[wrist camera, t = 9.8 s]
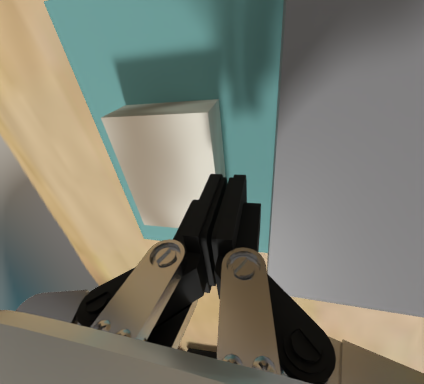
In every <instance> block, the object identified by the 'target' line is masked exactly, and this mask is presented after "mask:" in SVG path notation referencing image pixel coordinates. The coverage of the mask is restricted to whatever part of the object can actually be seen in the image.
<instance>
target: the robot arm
mask: <svg viewBox="0 0 424 384" xmlns="http://www.w3.org/2000/svg"><path fill="white" fill-rule="evenodd" d="M260 223H261V203H247V179H246V175H236V174H235V175H234V176H233V177H230V178H229V181H228V184H227V178H226V177H223V175H222V174H210V176H209V178H208V180H207V182H206V185H205V187H204V189H203V191H202V194H201V196H200V198H199V200H195V199H194V200H192V202H191V203H190V205H189V208H188V210H187V212H186V214H185V216H184V218H183V220H182V222H181V224H180V226H179V228H178V230H177V232H176V234H175V236H174V238H173V240H171V239H168V240H163V241H160V242H158V243H156V244H155V245H153V246H152V247H151V248H150V249H149V250H148V252H147V253H146V254H145V256H144V257H143V258H142V260H141V261H140V262H139V264H138V265H137V266H136V267H135V268H133V269H131V270H129V271H127V272H125V273H124V274H122V275H120V276H118V277H116V278H114V279H112V280H110V281H108V282H106V283H104V284H102V285H101V286H99V287H97V288H95V289H94V290H92V291H91V292H89V291H88V290H75V291H61V292H48V293H41V294H36V295H34V296H33V297H30V298H28V299H27V300H26V301H25V302H23V303H22V304H21V305H20V306H19V307H18V309H17V310H16V311H9V310H0V384H424V373H421V372H419V371H417V370H414V369H412V368H409V367H407V366H405V365H402V364H400V363H397V362H395V361H393V360H390V359H388V358H386V357H383V356H381V355H378V354H376V353H374V352H371V351H369V350H367V349H364V348H362V347H359V346H357V345H355V344H352V343H350V342H348V341H345V340H342V342H340V341H338V340H335V339H333V338H331V337H328V336H327V335H326V334H325V332H324V331H323V330H322V329H321V328H320V327H319V326H318V325H317V324H316V323H315V322H314V321H313V320H312V319H311V318H310V317H309V316H308V315H307V314H306V313H305V312H304V310H303V309H302V308H301V307H300V306H299V305H298V304H297V303H296V302H295V301H294V300H293V299H292V298H291V297H290V296H289V295H288V294H287V293H286V292H285V291H284V290H283V289H282V288H281V287H280V286H279V285H278V284H277V283H276V282H275V281H274V280H273V279H272V278H271V277H270V276H269V275H268V274H267V270H266V264H265V261H264V259H263V257H262V256H261V255H260V254H259V253H258V251H259V238H260ZM216 284H217V289H218V295H219V299H220V307H219V325H218V344H217V359H214V358H210V357H206V356H202V355H198V354H194V353H190V352H186V351H182V350H178V349H177V348H178V346H179V344H180V342H181V339H182V337H183V335H184V333H185V330H186V328H187V326H188V324H189V321H190V319H191V317H192V315H193V312H194V310H195V308H196V305H197V302H198V299H199V298H200V297H202V296H203V295H204V292H206V293H210V290H211V286H216Z"/></svg>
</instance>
